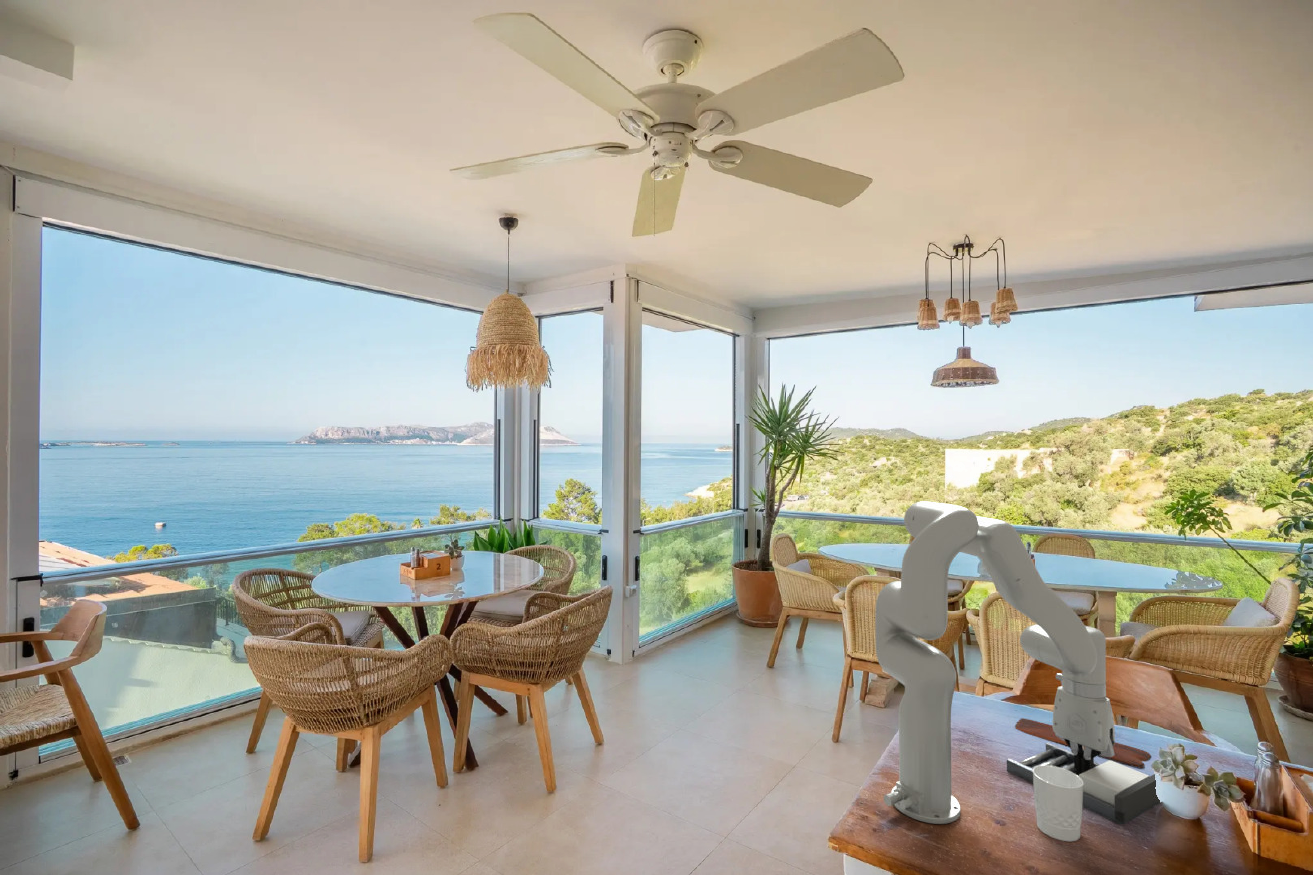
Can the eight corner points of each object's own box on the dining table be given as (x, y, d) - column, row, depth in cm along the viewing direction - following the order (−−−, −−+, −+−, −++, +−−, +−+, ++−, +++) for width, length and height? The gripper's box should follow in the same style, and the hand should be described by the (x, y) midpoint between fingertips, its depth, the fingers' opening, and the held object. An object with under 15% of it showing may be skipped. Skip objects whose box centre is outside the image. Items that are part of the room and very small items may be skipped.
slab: (1118, 807, 116) (1118, 792, 117) (1079, 789, 123) (1079, 774, 123) (1149, 790, 122) (1149, 775, 122) (1110, 774, 128) (1109, 759, 128)
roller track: (1122, 825, 114) (1121, 798, 114) (1006, 770, 134) (1006, 747, 134) (1162, 801, 122) (1162, 776, 122) (1048, 752, 141) (1047, 731, 141)
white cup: (1024, 816, 117) (1023, 764, 117) (1066, 817, 117) (1065, 765, 117) (1049, 843, 109) (1049, 787, 109) (1094, 844, 109) (1093, 788, 109)
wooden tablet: (1151, 757, 141) (1151, 749, 141) (1143, 773, 134) (1143, 765, 134) (1022, 718, 160) (1022, 712, 160) (1010, 730, 153) (1009, 724, 153)
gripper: (1036, 678, 132) (1036, 763, 132) (1115, 703, 119) (1116, 798, 119) (1055, 671, 136) (1055, 754, 136) (1134, 696, 123) (1134, 787, 123)
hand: (1083, 774), depth 127 cm, fingers closed
